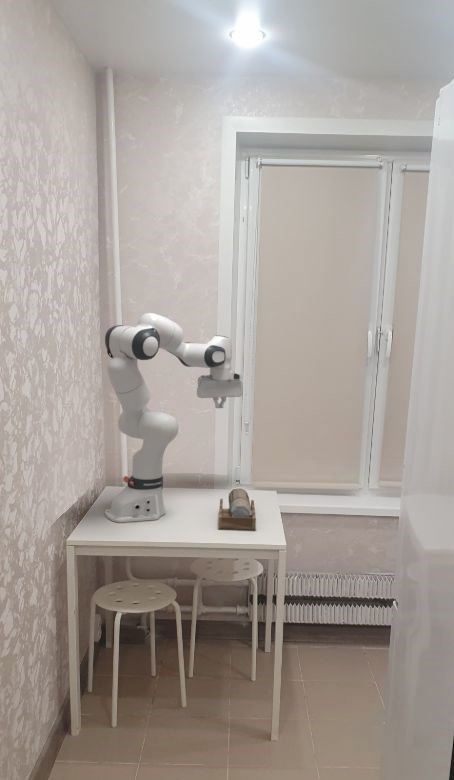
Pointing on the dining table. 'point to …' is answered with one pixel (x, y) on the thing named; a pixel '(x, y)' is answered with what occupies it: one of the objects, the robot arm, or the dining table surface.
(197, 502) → the dining table surface
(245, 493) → the spray can
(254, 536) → the dining table surface
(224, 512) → the walnut trough
